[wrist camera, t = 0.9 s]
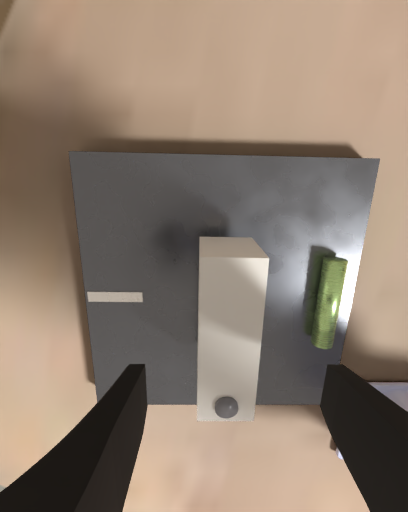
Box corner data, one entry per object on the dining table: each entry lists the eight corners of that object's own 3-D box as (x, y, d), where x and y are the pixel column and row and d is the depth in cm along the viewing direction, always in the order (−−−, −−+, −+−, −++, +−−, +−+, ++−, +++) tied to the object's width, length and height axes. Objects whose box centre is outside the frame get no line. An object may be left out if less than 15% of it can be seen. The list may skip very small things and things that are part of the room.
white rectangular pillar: (247, 232, 17) (270, 259, 12) (239, 355, 20) (254, 424, 14) (199, 231, 17) (199, 258, 11) (197, 355, 19) (197, 424, 14)
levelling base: (364, 160, 17) (396, 157, 15) (323, 390, 23) (340, 420, 20) (79, 152, 17) (56, 148, 14) (104, 389, 22) (90, 420, 19)
